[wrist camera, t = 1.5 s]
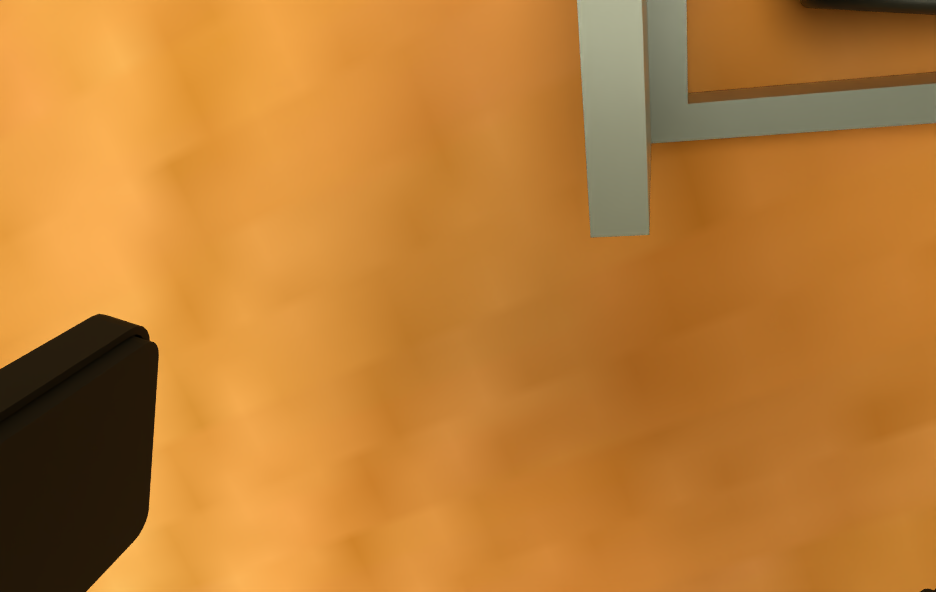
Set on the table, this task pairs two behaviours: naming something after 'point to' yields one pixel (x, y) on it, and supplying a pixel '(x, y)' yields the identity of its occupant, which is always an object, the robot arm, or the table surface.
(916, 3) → the end cap
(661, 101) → the equipment case
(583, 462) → the table surface
